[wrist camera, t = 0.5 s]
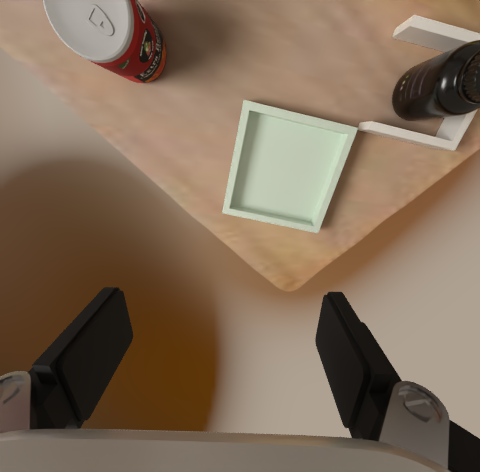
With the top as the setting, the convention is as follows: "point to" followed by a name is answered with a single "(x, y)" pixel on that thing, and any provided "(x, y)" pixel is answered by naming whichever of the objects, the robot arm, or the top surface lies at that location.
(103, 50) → the canned food
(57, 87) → the top surface
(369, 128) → the bay
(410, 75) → the supplement bottle
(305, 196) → the tray
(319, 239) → the top surface
